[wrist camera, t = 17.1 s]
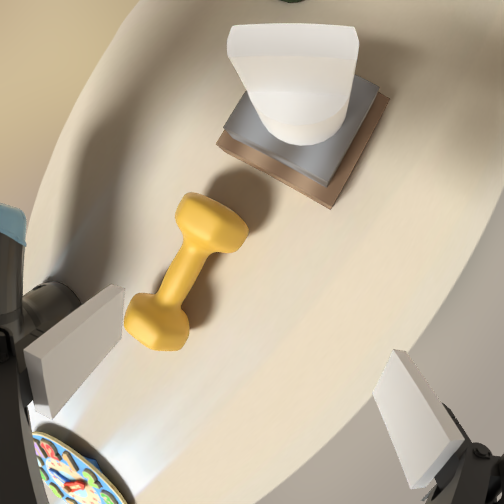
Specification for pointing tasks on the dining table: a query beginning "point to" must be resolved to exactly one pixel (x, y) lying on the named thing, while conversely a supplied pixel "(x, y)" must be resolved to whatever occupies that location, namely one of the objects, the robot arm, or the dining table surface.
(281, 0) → the character mug
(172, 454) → the dining table surface
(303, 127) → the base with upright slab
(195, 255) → the dumbbell
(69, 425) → the dining table surface
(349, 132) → the grey and brown block
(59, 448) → the shape sorting clock
